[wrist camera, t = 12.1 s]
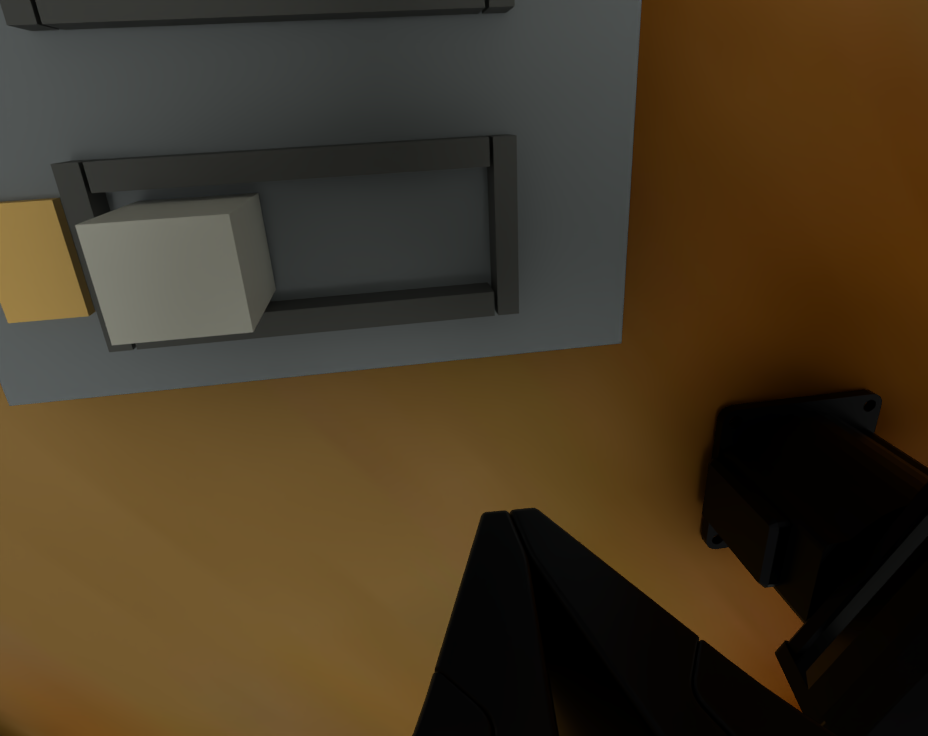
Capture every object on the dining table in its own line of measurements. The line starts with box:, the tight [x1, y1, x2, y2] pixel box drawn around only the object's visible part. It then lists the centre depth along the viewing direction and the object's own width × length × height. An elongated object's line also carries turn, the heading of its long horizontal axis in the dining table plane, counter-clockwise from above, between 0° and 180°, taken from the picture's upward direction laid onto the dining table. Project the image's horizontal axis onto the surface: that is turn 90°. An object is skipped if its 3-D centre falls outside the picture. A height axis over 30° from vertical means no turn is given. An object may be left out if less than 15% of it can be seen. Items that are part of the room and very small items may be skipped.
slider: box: [75, 193, 276, 345], centre depth 14 cm, size 3×3×4 cm
